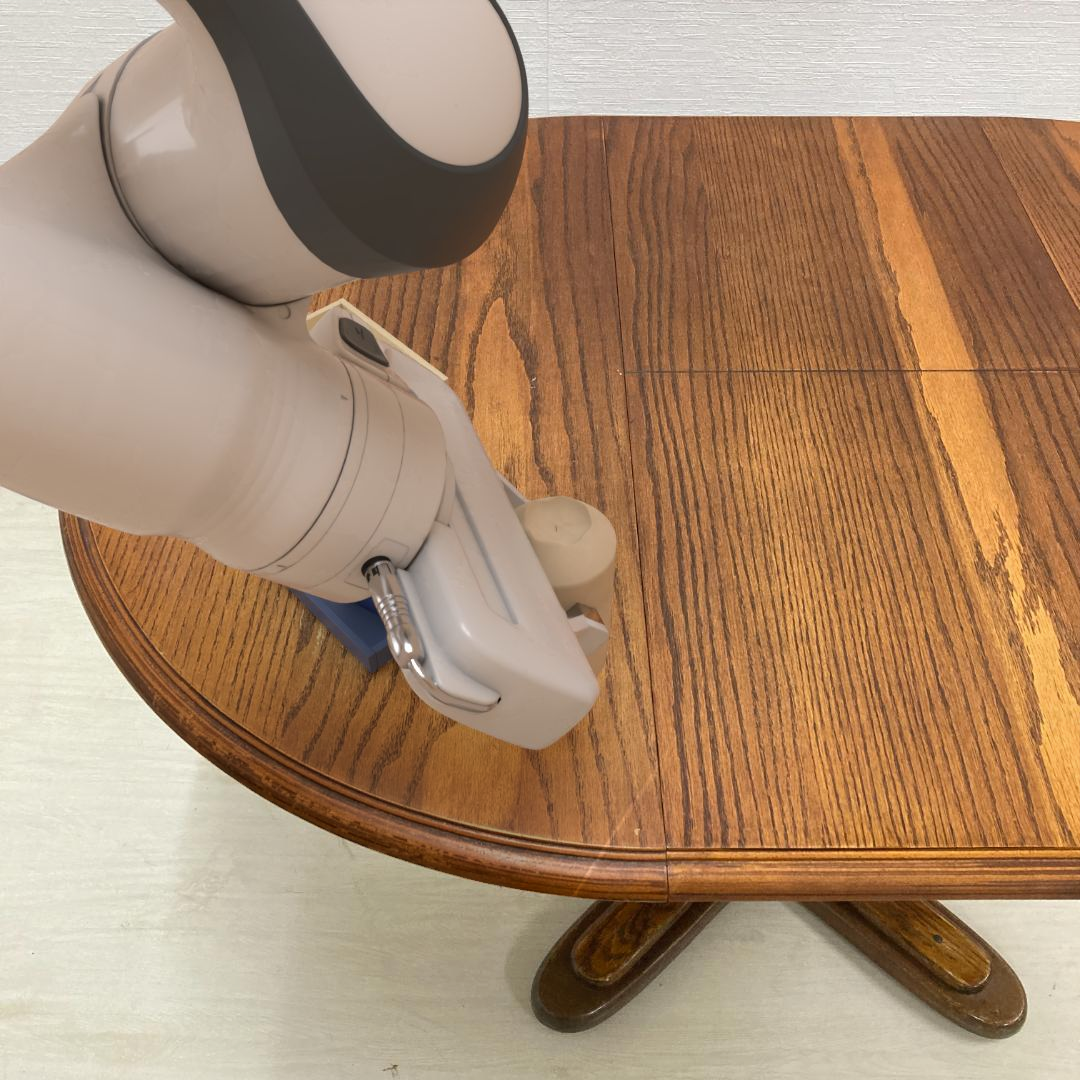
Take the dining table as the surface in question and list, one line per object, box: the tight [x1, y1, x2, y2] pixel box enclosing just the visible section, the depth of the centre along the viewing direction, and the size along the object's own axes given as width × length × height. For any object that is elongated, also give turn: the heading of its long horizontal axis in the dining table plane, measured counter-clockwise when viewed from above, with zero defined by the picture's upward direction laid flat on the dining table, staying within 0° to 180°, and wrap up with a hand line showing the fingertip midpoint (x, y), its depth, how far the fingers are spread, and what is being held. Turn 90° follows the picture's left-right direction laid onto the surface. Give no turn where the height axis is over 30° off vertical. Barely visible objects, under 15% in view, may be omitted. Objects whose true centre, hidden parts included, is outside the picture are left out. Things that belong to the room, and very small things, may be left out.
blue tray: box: [285, 586, 394, 674], centre depth 70 cm, size 15×13×2 cm
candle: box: [514, 495, 618, 679], centre depth 53 cm, size 6×6×10 cm
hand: (567, 580), depth 53 cm, fingers closed on candle, 5 cm apart
